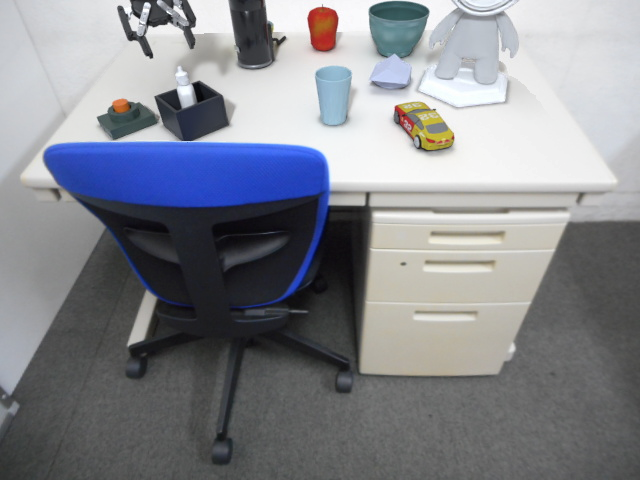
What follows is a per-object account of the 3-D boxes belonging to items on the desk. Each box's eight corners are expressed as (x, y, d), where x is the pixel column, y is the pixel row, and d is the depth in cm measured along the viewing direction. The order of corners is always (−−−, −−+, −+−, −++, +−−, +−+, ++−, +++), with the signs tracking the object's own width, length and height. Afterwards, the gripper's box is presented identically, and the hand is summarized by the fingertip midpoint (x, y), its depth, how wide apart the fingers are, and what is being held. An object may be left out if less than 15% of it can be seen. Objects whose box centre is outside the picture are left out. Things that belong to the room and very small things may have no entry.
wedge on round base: (404, 98, 98) (412, 74, 107) (408, 69, 93) (415, 48, 102) (367, 93, 100) (377, 71, 109) (369, 66, 95) (379, 45, 104)
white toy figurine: (413, 101, 97) (440, -88, 72) (430, 62, 112) (457, -105, 87) (503, 114, 92) (566, -85, 66) (507, 71, 106) (560, -104, 81)
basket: (206, 109, 97) (199, 80, 92) (229, 125, 91) (222, 95, 86) (163, 125, 92) (153, 96, 87) (184, 143, 86) (175, 113, 81)
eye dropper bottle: (179, 127, 89) (162, 72, 81) (189, 114, 93) (175, 60, 85) (198, 128, 89) (183, 73, 80) (208, 115, 93) (194, 61, 84)
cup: (342, 131, 88) (342, 84, 81) (310, 123, 91) (308, 77, 83) (356, 115, 93) (357, 69, 86) (325, 108, 96) (324, 63, 88)
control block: (142, 110, 97) (136, 94, 94) (157, 123, 93) (151, 106, 90) (100, 125, 93) (92, 109, 90) (113, 139, 88) (106, 123, 85)
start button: (126, 104, 92) (124, 97, 90) (132, 109, 90) (129, 102, 89) (112, 109, 90) (109, 101, 89) (118, 114, 88) (115, 107, 87)
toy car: (420, 110, 94) (423, 89, 90) (458, 151, 82) (464, 128, 78) (388, 116, 92) (390, 95, 89) (423, 158, 81) (427, 135, 77)
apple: (305, 53, 118) (303, 8, 110) (312, 42, 124) (311, -2, 115) (335, 55, 117) (335, 9, 108) (340, 44, 122) (341, -1, 114)
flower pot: (434, 56, 114) (442, 14, 106) (383, 67, 110) (387, 24, 102) (404, 37, 125) (409, -3, 117) (356, 46, 121) (358, 5, 113)
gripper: (99, -32, 77) (136, 51, 78) (173, -44, 82) (207, 34, 83) (105, -7, 84) (138, 69, 85) (173, -19, 89) (204, 52, 90)
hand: (172, 51), depth 84 cm, fingers open, 8 cm apart
